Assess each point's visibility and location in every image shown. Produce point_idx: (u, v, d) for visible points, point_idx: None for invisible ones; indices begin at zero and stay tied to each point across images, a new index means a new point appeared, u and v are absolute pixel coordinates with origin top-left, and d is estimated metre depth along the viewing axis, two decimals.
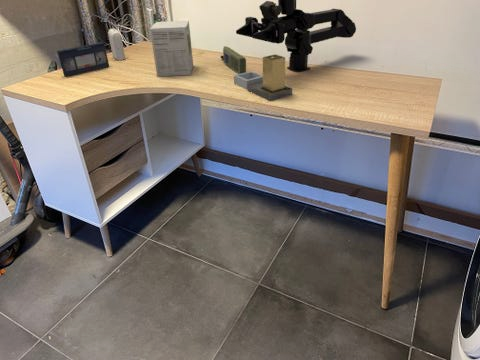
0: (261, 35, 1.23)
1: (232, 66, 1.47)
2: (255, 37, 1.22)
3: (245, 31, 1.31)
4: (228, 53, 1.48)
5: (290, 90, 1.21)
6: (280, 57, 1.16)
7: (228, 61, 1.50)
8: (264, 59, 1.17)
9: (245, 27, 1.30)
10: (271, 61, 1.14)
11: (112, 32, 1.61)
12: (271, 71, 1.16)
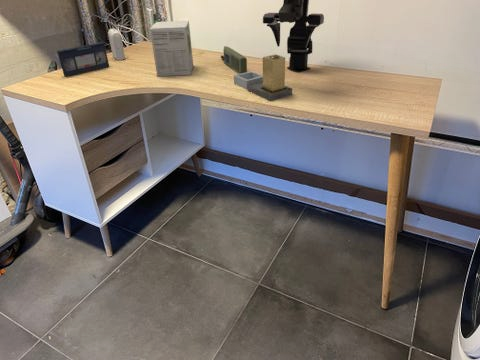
0: (308, 38, 1.21)
1: (233, 66, 1.47)
2: (307, 44, 1.22)
3: (278, 33, 1.24)
4: (229, 53, 1.48)
5: (290, 90, 1.21)
6: (280, 57, 1.16)
7: (229, 61, 1.50)
8: (264, 59, 1.17)
9: (277, 33, 1.23)
10: (271, 61, 1.14)
11: (112, 32, 1.61)
12: (271, 71, 1.16)
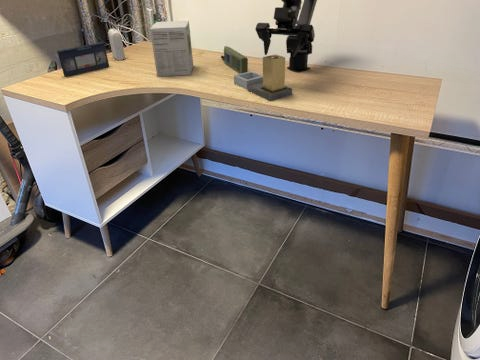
0: (297, 48, 1.19)
1: (233, 66, 1.47)
2: (294, 54, 1.20)
3: (267, 44, 1.24)
4: (229, 53, 1.48)
5: (290, 90, 1.21)
6: (280, 57, 1.16)
7: (229, 61, 1.50)
8: (264, 59, 1.17)
9: (267, 42, 1.22)
10: (271, 61, 1.14)
11: (112, 32, 1.61)
12: (271, 71, 1.16)
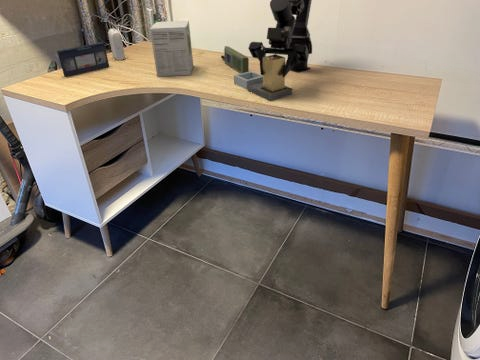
0: (288, 68, 1.17)
1: (234, 66, 1.47)
2: (285, 74, 1.18)
3: None
4: (230, 53, 1.48)
5: (290, 90, 1.21)
6: (280, 57, 1.16)
7: (230, 61, 1.50)
8: (264, 59, 1.17)
9: None
10: (271, 61, 1.14)
11: (112, 32, 1.61)
12: (271, 71, 1.16)
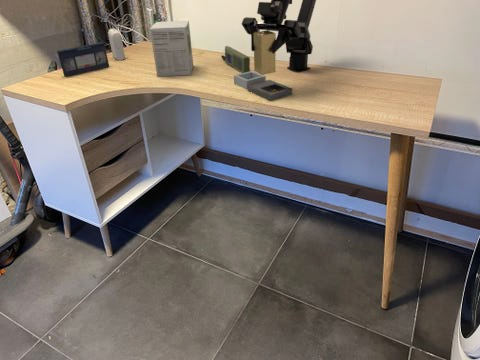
0: (278, 44, 1.16)
1: (235, 66, 1.48)
2: (275, 51, 1.16)
3: None
4: (230, 53, 1.49)
5: (290, 90, 1.21)
6: (270, 33, 1.15)
7: (230, 61, 1.50)
8: (254, 34, 1.16)
9: None
10: (260, 36, 1.14)
11: (112, 32, 1.61)
12: (260, 47, 1.15)
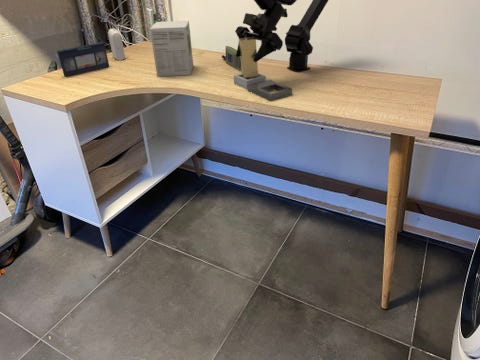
0: (260, 54, 1.23)
1: (236, 65, 1.48)
2: (257, 60, 1.24)
3: None
4: (231, 52, 1.49)
5: (290, 90, 1.21)
6: (252, 39, 1.24)
7: (231, 60, 1.50)
8: (239, 40, 1.26)
9: None
10: (240, 42, 1.23)
11: (112, 32, 1.61)
12: (241, 51, 1.25)
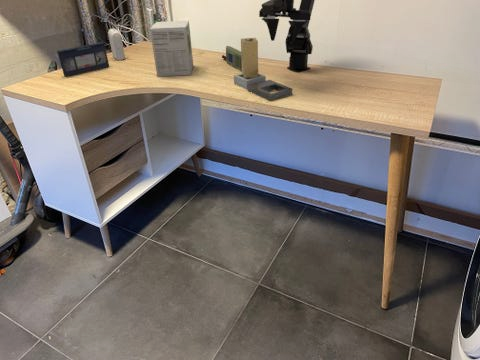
0: (294, 34, 1.22)
1: (237, 65, 1.48)
2: (293, 40, 1.23)
3: (273, 28, 1.29)
4: (232, 52, 1.49)
5: (290, 90, 1.21)
6: (254, 40, 1.24)
7: (232, 60, 1.50)
8: (241, 40, 1.26)
9: (271, 28, 1.28)
10: (242, 43, 1.23)
11: (112, 32, 1.61)
12: (242, 52, 1.25)
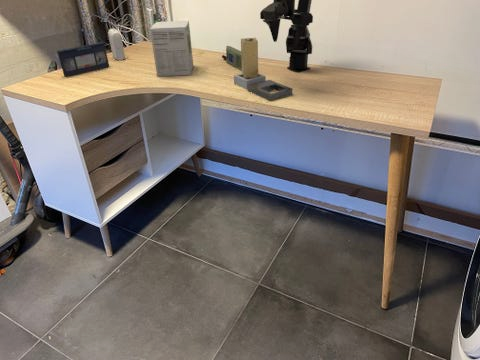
0: (297, 36, 1.22)
1: (237, 65, 1.48)
2: (296, 43, 1.23)
3: (275, 29, 1.28)
4: (233, 52, 1.49)
5: (290, 90, 1.21)
6: (254, 40, 1.24)
7: (233, 60, 1.50)
8: (241, 40, 1.26)
9: (273, 29, 1.27)
10: (242, 43, 1.23)
11: (112, 32, 1.61)
12: (242, 52, 1.25)
